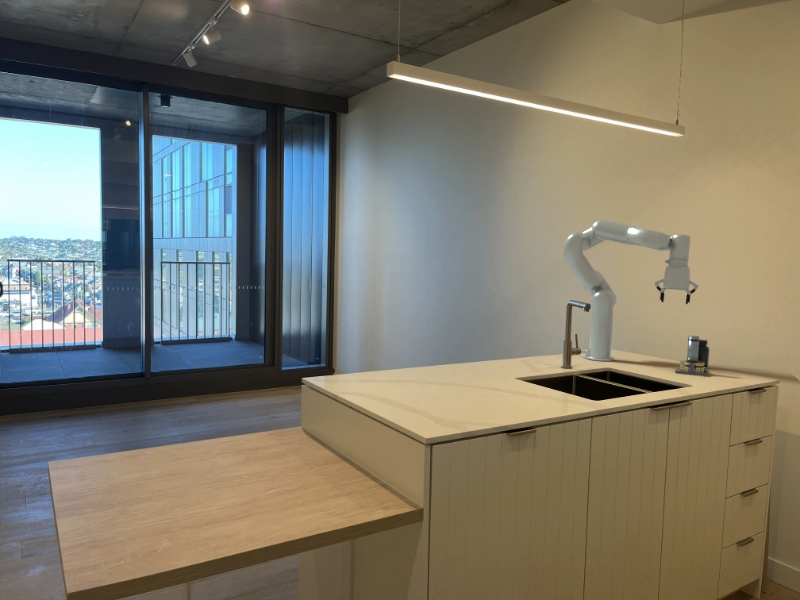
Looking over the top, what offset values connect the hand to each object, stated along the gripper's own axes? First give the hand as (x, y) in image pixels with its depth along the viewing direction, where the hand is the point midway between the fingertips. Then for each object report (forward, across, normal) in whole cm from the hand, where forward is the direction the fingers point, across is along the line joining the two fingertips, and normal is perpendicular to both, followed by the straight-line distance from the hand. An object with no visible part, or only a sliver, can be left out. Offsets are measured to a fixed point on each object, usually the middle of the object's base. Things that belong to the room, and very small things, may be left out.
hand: (674, 303), depth 264 cm
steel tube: (+26, +10, -13) cm, 31 cm away
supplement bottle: (+27, +12, +7) cm, 31 cm away
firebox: (+27, +10, -13) cm, 32 cm away
